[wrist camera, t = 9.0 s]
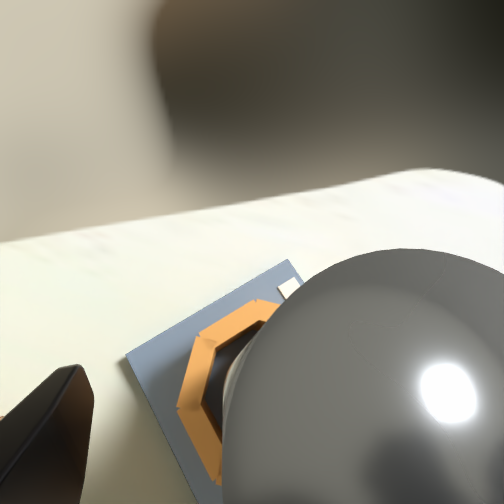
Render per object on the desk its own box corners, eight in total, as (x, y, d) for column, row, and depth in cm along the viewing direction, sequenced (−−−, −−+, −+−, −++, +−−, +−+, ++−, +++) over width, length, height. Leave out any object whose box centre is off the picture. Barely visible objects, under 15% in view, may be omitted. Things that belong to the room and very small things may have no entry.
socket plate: (392, 419, 15) (440, 431, 12) (227, 555, 13) (228, 618, 10) (285, 262, 18) (300, 235, 14) (128, 355, 15) (102, 349, 12)
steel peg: (301, 436, 14) (770, 810, 2) (219, 431, 14) (191, 817, 2) (302, 349, 15) (593, 264, 3) (226, 344, 15) (240, 232, 3)
